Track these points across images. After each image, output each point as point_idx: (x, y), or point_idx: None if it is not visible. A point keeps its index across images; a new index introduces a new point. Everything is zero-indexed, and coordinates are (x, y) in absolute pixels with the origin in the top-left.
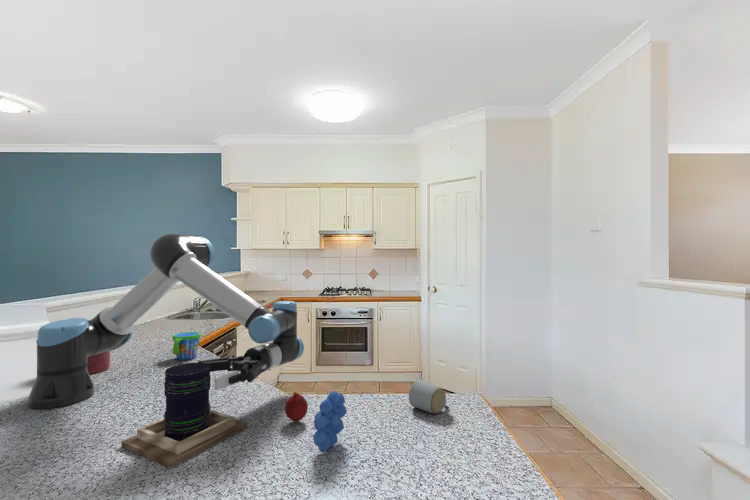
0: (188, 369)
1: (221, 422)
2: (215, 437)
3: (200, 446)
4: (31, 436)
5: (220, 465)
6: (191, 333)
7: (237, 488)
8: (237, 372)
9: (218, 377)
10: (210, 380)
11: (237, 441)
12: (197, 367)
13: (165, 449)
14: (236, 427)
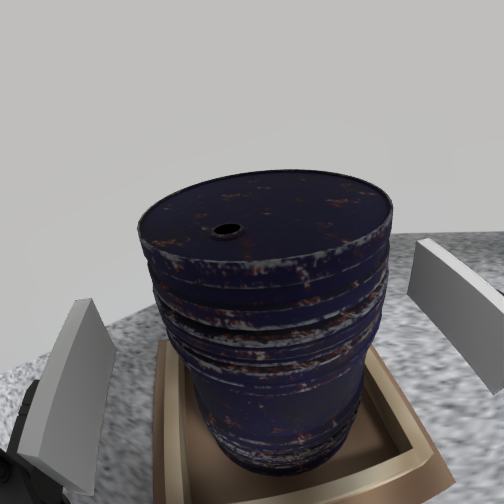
0: (254, 202)
1: (173, 468)
2: (161, 445)
3: (156, 399)
4: (460, 243)
5: None
6: None
7: (22, 371)
8: (26, 442)
9: (80, 313)
10: (199, 351)
11: (115, 485)
12: (248, 222)
13: None
14: None
